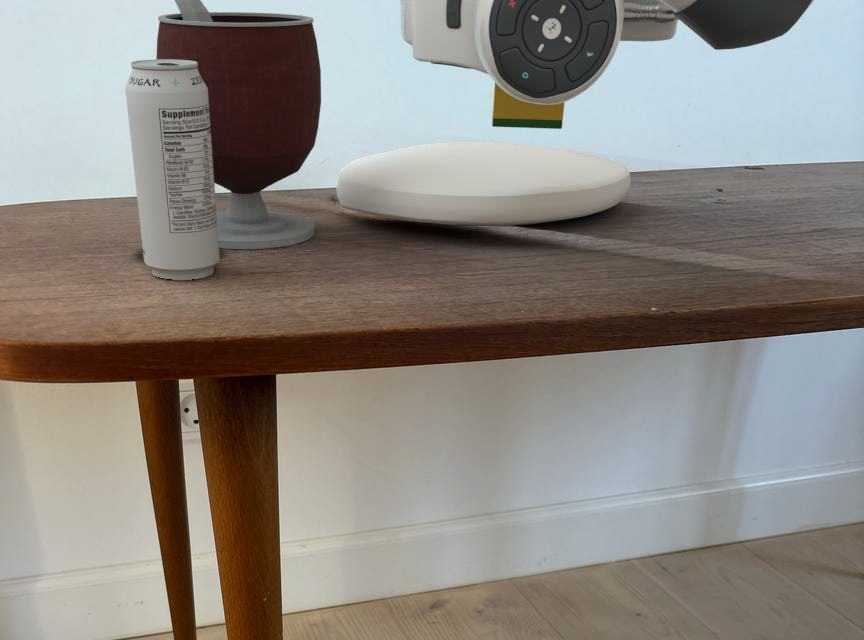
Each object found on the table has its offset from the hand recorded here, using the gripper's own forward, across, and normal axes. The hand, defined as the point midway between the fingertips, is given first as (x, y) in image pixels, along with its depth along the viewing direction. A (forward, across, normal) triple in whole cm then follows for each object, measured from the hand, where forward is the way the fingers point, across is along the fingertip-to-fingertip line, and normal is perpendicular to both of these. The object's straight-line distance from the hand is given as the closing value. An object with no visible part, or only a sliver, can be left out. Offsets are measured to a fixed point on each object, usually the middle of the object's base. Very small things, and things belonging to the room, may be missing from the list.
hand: (535, 0), depth 82 cm
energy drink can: (-10, +27, +19) cm, 35 cm away
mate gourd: (+4, +25, +19) cm, 32 cm away
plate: (+14, +3, +19) cm, 24 cm away
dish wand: (-1, 0, +8) cm, 9 cm away
